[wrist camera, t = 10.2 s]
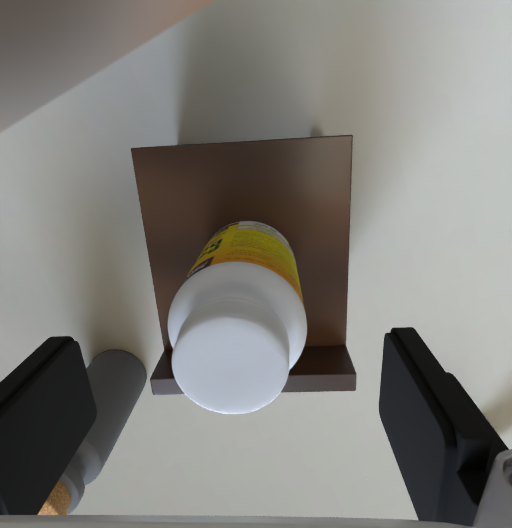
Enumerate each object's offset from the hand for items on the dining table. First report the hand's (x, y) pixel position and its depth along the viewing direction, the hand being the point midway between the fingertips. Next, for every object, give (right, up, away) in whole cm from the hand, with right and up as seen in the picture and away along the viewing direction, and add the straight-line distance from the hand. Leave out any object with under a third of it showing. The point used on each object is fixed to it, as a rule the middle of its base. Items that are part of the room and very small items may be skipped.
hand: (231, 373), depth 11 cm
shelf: (+1, +7, +20) cm, 21 cm away
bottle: (-13, -8, +26) cm, 30 cm away
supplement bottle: (0, +3, +11) cm, 11 cm away
